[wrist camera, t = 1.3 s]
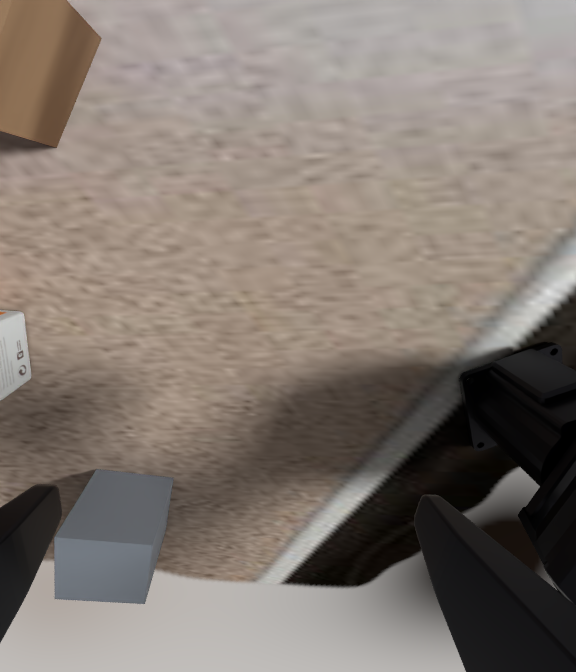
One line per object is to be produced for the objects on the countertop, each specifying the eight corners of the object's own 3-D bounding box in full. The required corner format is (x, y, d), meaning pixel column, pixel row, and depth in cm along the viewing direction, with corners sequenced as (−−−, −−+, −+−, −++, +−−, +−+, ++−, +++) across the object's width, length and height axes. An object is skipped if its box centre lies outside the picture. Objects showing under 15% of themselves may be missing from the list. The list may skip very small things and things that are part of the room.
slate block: (173, 476, 23) (152, 545, 18) (166, 529, 25) (144, 603, 20) (97, 468, 22) (54, 537, 17) (94, 522, 24) (54, 599, 19)
